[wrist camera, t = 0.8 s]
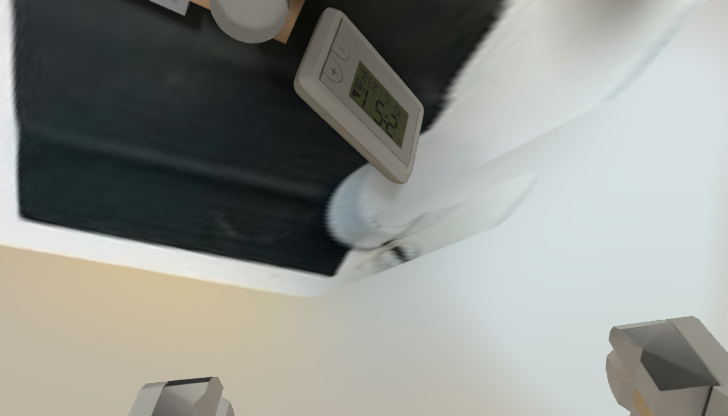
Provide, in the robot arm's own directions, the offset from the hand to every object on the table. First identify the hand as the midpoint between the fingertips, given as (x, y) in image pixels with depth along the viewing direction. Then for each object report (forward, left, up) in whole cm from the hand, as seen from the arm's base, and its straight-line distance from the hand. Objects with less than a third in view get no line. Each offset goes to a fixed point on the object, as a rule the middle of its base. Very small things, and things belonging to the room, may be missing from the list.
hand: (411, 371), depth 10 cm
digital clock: (+14, +9, -43) cm, 46 cm away
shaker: (+8, -4, -39) cm, 40 cm away
